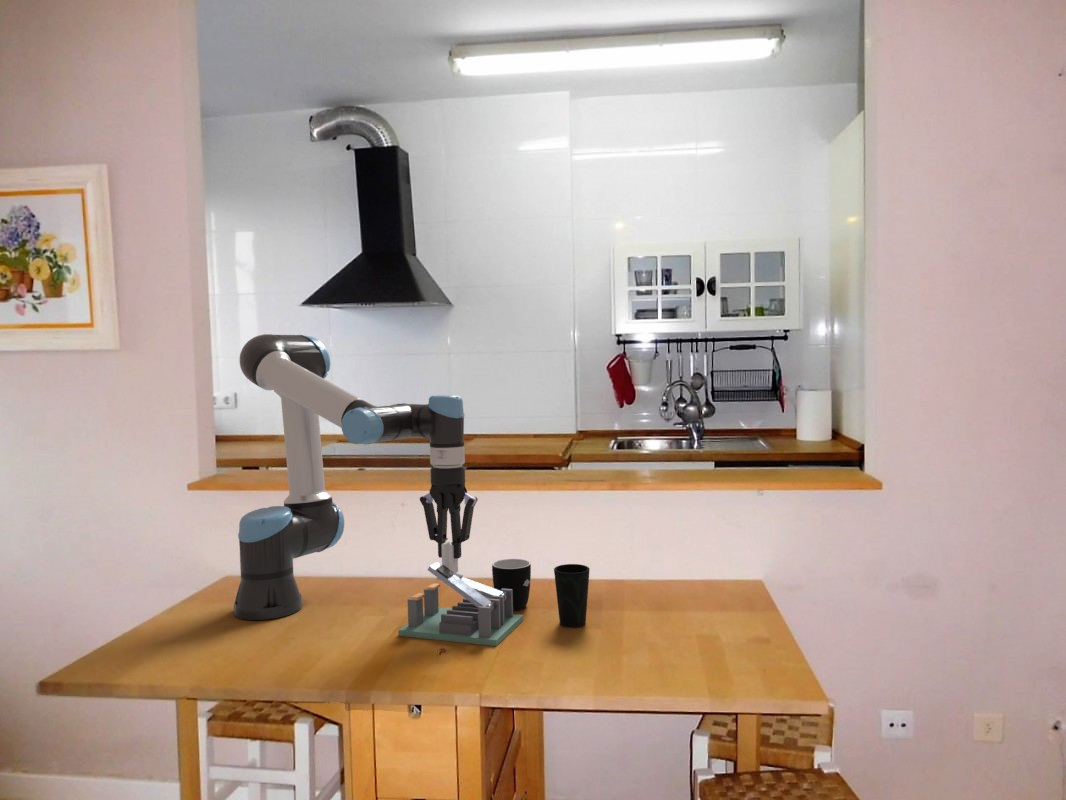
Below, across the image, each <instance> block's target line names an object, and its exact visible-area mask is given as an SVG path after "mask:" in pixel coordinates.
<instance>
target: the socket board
mask: <svg viewBox="0 0 1066 800" xmlns="http://www.w3.org/2000/svg"><path fill="white" fill-rule="evenodd" d="M439 588H441V583H432V584H430V585H429V586H426V587H425V588H424V589H423V592H422V593H421V592H418V593H416V594H414V595H412V596H410V597H409V598H407V624H405V625H404V626H402V627H401V628H399V629H397V631H398V632H397V633H398V636H399V637H405V638H406V637H407V638H415V639H416V638H417V639H428V640H435V641H446V642H455V643H464V644H475V645H484V646H493V647H497V646H498V645H500V643H501V642H502V641H504V640H505V639H506V638H507V637H508V636H509V635H510V634H511V633H512V632H513V631H514V630H515V629H516V628H517V627H518V626H520V624H521V623H522V622H523V621H524V614H515V613H514V611H513V589H501V591H502V592H504V591H506V592H508V594H509V597H508V598H507V599H506V600H505V601H504V596H495V595H493V596H492V599H489V598H487V599H488V600H490V601H491V602H495V604H496V608H495V609H494V610H493V611H491V607H485V606H479V607H476V606H475V605H474V604H472V603H471V602H470V601H468V600H467V599H466V598H464V597H463V599H462V601H458V602H457V605H453V606H452V607H451V608H450V607H439Z"/></svg>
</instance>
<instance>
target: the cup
mask: <svg viewBox="0 0 1066 800" xmlns="http://www.w3.org/2000/svg"><path fill="white" fill-rule="evenodd" d="M590 569H591V568H589V566H587V565H585V564H584V565H583V564H577V563H567V564H566V563H565V564H560V565H557V566H555V567H554V568H553V572H554V582H555V583H554V584H555V590H556V600H557V608H558V610H557V611H558V619H559V625H561V627H565V628H568V629H569V628H571V629H574V628H581V627H584V626H585V625H586V624H587V623H586V622H587V611H588V595H589V582H590Z"/></svg>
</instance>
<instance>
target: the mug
mask: <svg viewBox="0 0 1066 800" xmlns="http://www.w3.org/2000/svg"><path fill="white" fill-rule="evenodd" d="M531 566H532V564H531V562H530V561H529V560H527V559H523V558H522V559H521V558H504V559H499V560H496V561H493V563H492V564H491V568H492V569H491V572H492V584H493V585H492V586H493V588H494V589H497V590H500V591H501V589H513V612H515V611H520V610H523V609H525V608H526V607H527V605H528V602H529V597H530V590H531V577H532V576H531V572H532V567H531Z"/></svg>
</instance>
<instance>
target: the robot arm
mask: <svg viewBox="0 0 1066 800" xmlns="http://www.w3.org/2000/svg"><path fill="white" fill-rule="evenodd" d="M241 348H242V349H241V351H240V353H239V366H240V370H241V372H242V374H243V375H244V376H245V378H246V379H247V380H249V382H251V383H252V384H254V385H256V386H258V387H259V388H261V389H263V390H265V391H273V392H274V393H275V394H277V395H278V396H279V398H280V400H281V403H280V404H281V414H282V415H281V416H282V425H283V436H284V446H285V449H284V450H285V457H286V458H285V459H286V469H287V480H288V481H287V482H288V490H289V494H288V496H286V498H285V499H284V500H283V505H274V506H269V507H261V508H258V509H254V510H252V511H249V512H247V513H246V514H244V515H243V516H241V519H240V520H239V523H238V528H239V529H238V533H237V535H238V536H237V537H238V542H239V565H240V582H239V586H238V589H237V593H236V596H235V600H234V603H233V615H234V617H236V618H238V619H241V620H246V621H265V620H274V619H280V618H283V617H287V616H290V615H293V614H296V613H298V612H299V611H300V610H301V609H302V608H303V596H302V594H301V593H300V589H299V586H298V583H297V581H296V578H295V575H294V559H298V558H301V557H304V556H307V555H310V554H311V555H312V554H314V553H320V552H324V551H326V550H327V549H330V548H333V547H334V546H335V545H336V544H338V542H339V541H340V539H341V538H342V537H343V534H344V530H345V517H344V513H343V511H342V510H340V507H339V505H338V504H337V503H335V502H333V501H334V500H333V495H332V494H330V493H329V492H328V491H327V490H326V483H325V482H326V481H325V473H324V472H325V471H324V462H323V451H322V450H323V449H322V438H321V428H320V418H319V417H321V418H323V419H324V420H327V421H329V422H330V423H332V424H333V425H335V426H337V427H339V428H341V432H342V434H343V436H344V437H345V439H346V441H348V442H349V443H351V444H354V445H365V446H366V445H371V444H374V443H381V442H386V441H387V442H388V441H394V440H397V441H398V440H404V439H408V438H409V439H413V438H415V439H417V438H418V439H421V438H422V439H424V438H425V439H429V455H430V456H429V463H430V465H431V466H432V467H431V468H430V484H431V485H430V488H429V493H427V494H425V495H422V496H420V497H419V501H420V503H421V505H422V506H423V511H424V516H425V522H426V526H427V533H428V537H429V540H430V541H434V542H436V543H437V556H438V558H441V565H444V566H446V567H447V568H449V569H450V570H451V571H453V572H454V574H455V573H458V572H459V559H460V558H461V557H462V543H464V542H466V541H468V540H469V539H470V535H471V529H472V523H473V516H474V508H475V506H476V504H477V502H478V497H477V496H472V494H471V495H470V494H469V493H468V490H467V488H466V467H465V466H464V464H465V463H466V456H465V455H466V454H465V433H464V431H465V429H464V428H465V412H464V401H463V397H461V396H460V395H456V394H448V395H446V394H442V395H441V394H439V395H431V396H429V398H428V403H426V404H423V403H422V404H421V403H420V404H418V403H396V404H395V403H394V404H390V405H382V406H376V405H373V404H371V403H369V402H368V401H366V400H364V399H362V398H361V397H358V396H357V395H355V394H353V393H351V392H349V391H347V390H346V389H344V388H342V387H340V386H338V385H336V384H334V383H333V382H330V381H329V380H327V379H325V378H326V377H327V376H328V372H330V370H331V357H330V354H329V352H328V349H327V347H326V346H325V344H324V343H323V342H322V341H320V340H319V339H318V338H316V337H313V336H309V335H303V334H272V333H271V334H270V333H269V334H265V333H264V334H260V335H259V334H258V335H257V336H254V337H253V338H250V340H248V341H247V342H246V343H245V344H244V346H243V347H241ZM463 501H464V509H463V514H462V521H461V504H462V503H463ZM433 502H434V503H435V504H436V511H435V506H434V503H433ZM448 512H449V515H450V517H449V518H450V528H451V542H450V541H447V540H448V539H449V537H447V536H448V535H447V533H448ZM436 513H437V516H436ZM461 522H462V523H461Z"/></svg>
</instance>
